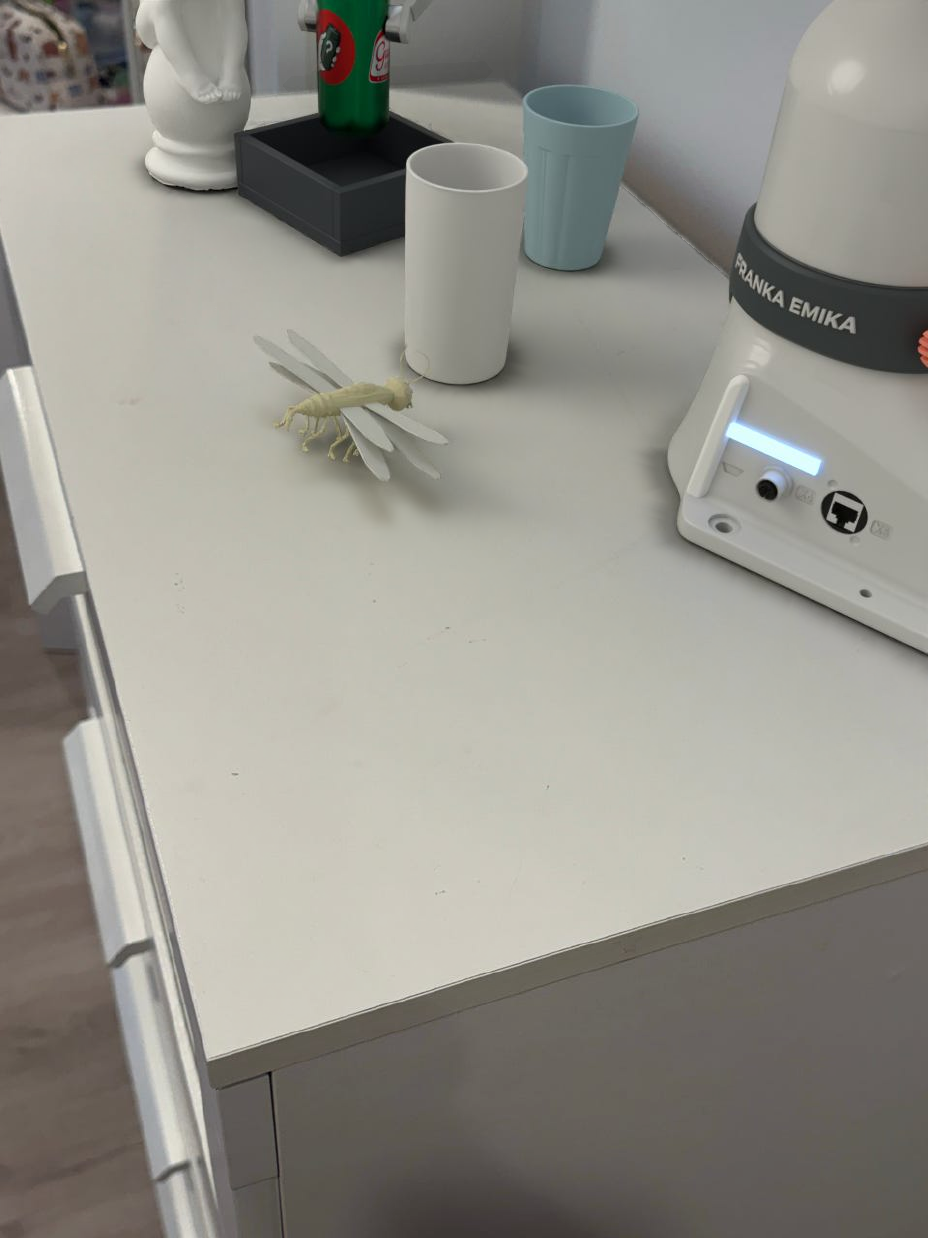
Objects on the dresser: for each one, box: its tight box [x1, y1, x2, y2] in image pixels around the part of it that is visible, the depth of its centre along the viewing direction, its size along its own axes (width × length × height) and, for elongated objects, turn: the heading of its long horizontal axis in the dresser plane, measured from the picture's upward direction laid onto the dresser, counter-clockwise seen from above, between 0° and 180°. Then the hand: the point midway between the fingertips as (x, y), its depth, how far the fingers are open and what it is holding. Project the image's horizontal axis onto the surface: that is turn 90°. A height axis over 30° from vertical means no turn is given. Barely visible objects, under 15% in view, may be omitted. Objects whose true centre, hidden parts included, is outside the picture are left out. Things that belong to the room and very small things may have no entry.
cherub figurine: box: [135, 0, 252, 191], centre depth 84 cm, size 12×12×22 cm
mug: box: [404, 142, 528, 385], centre depth 70 cm, size 10×7×12 cm, turn 5°
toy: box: [252, 328, 450, 483], centre depth 63 cm, size 15×9×5 cm, turn 39°
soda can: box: [315, 0, 392, 138], centre depth 81 cm, size 5×5×12 cm
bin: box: [234, 109, 456, 257], centre depth 87 cm, size 13×13×4 cm
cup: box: [522, 84, 640, 271], centre depth 81 cm, size 8×8×10 cm
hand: (353, 33), depth 80 cm, fingers closed on soda can, 5 cm apart
